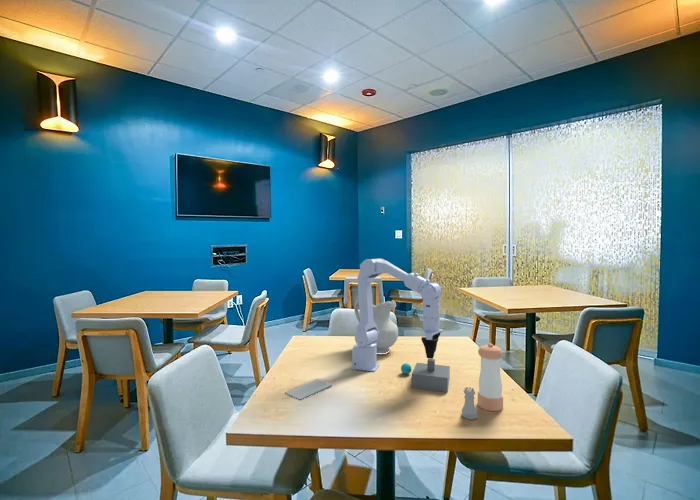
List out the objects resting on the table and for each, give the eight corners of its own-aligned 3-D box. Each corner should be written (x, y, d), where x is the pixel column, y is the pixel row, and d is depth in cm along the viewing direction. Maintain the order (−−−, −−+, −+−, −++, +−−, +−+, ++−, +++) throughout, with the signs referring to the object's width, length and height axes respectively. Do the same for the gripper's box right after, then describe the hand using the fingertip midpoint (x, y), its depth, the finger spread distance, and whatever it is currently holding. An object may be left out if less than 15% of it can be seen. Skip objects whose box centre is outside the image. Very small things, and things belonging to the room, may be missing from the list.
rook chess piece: (458, 413, 103) (458, 385, 103) (473, 412, 104) (473, 385, 103) (465, 420, 99) (465, 392, 99) (480, 419, 99) (480, 391, 99)
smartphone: (283, 392, 117) (316, 378, 128) (283, 395, 117) (316, 381, 128) (299, 399, 112) (332, 384, 123) (299, 402, 112) (332, 387, 123)
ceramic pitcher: (347, 356, 159) (345, 302, 156) (358, 341, 177) (357, 293, 175) (394, 361, 152) (394, 305, 150) (401, 345, 171) (401, 295, 168)
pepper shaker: (491, 413, 103) (491, 348, 102) (472, 403, 109) (472, 342, 109) (508, 408, 106) (508, 344, 106) (488, 398, 113) (489, 339, 112)
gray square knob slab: (411, 387, 121) (411, 363, 121) (416, 375, 133) (416, 353, 133) (447, 392, 118) (447, 367, 117) (449, 379, 129) (449, 356, 129)
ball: (400, 375, 133) (400, 364, 133) (402, 371, 137) (402, 361, 137) (410, 376, 132) (410, 365, 132) (412, 372, 135) (412, 362, 135)
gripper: (441, 321, 117) (441, 362, 117) (444, 313, 130) (444, 350, 131) (419, 320, 119) (419, 360, 119) (425, 312, 133) (425, 348, 133)
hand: (431, 354), depth 125 cm, fingers open, 7 cm apart
